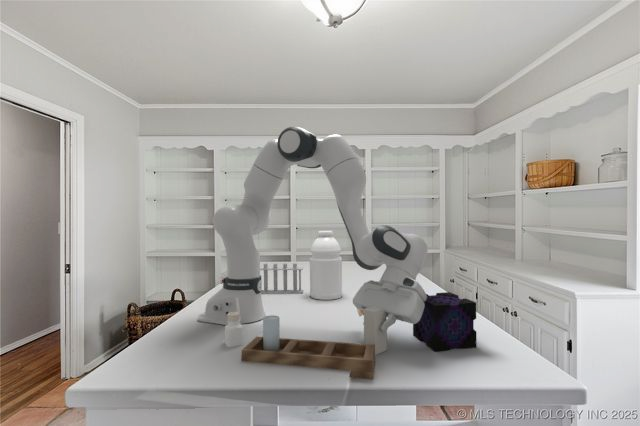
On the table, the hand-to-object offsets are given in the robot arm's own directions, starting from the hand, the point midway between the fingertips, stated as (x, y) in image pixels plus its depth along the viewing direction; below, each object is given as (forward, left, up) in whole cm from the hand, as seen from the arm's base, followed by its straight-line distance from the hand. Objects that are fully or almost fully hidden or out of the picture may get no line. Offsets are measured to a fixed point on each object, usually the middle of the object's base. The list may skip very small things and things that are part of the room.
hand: (373, 328), depth 89 cm
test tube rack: (-48, +57, -6) cm, 75 cm away
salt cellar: (-24, -10, -4) cm, 27 cm away
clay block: (0, +1, -6) cm, 6 cm away
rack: (-15, -10, -6) cm, 19 cm away
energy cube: (+18, +11, -6) cm, 22 cm away
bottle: (-24, +55, -6) cm, 60 cm away
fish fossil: (-4, +35, -7) cm, 35 cm away
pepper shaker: (-37, -5, -6) cm, 38 cm away
